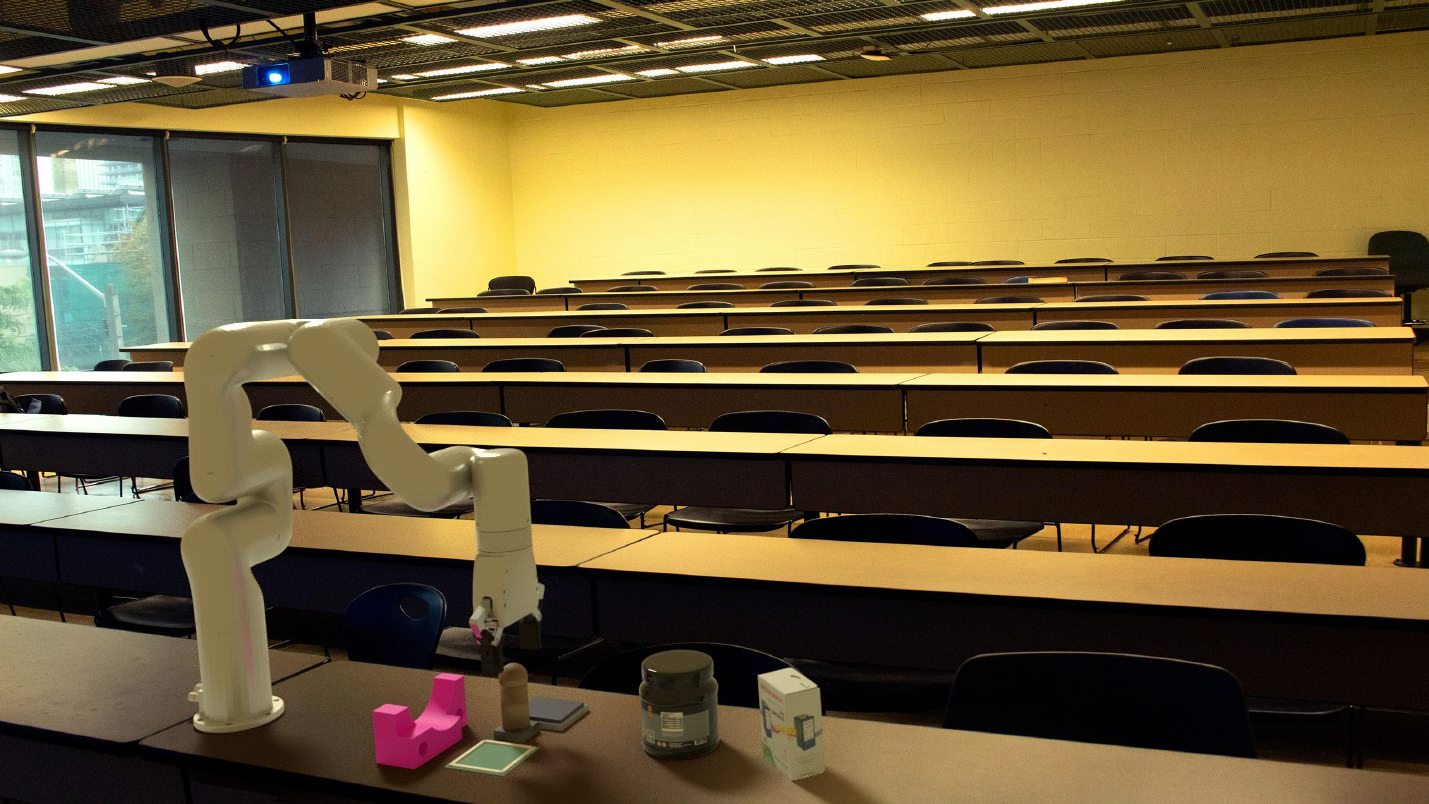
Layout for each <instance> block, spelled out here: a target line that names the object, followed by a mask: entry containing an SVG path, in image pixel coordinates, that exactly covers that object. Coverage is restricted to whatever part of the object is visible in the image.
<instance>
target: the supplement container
mask: <svg viewBox="0 0 1429 804" xmlns="http://www.w3.org/2000/svg"><path fill="white" fill-rule="evenodd" d="M713 675H714V660H713V658H712V657H711V656H710V655H709V654H707V653H704V652H702V651H697V650H691V649H673V650H666V651H661V652H657V653H653V654H651V655H649V656H647V657H646V658H645V659H644V660H643V661H642V663H641V676H642V677H641V678H642V681H641V683H640V685H639V687H638V692H639V693H638V694H639V697H640V713H641V715H640V716H641V735H642V736H641V745H642V746H643V749H644V750H645V751H646V752H647V753H648V754H649V755H650V756H652V757H654V758H657V759H662V760H667V761H686V760H692V759H697V758H700V757H703V756H706V755H708V754H709V753H712V752H713V751H714V750H715V749H717V747H718V746H719V743H720V731H719V730H720V729H719V708H718V707H719V706H718V690H719V684H718V682H717V679H715V678H714V677H713Z"/></svg>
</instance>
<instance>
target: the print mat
mask: <svg viewBox="0 0 1429 804" xmlns="http://www.w3.org/2000/svg"><path fill="white" fill-rule="evenodd" d="M540 749H541V747H540V746H534V745H526V744H522V743H514V742H506V741H498V740H491V739H482V740H481V741H479V742H478V743H475V745H473V746H472V747H471V748H469V749H468V750H466V751H465V752H464V753H461V755H459V756H458V757H456V758H455V759H453V760H452V761H450V762H449V763H448V764H446V765H445V766H444V768H445V769H449V770H450V769H451V770H458V771H464V772H472V773H479V774H486V775H493V776H500V777H504V776H506V775H507V774H508V773H510V772H511V771H512V770H514V769H515V768H516V767H518V766H519V765H520V764H522V763H523V762H524V761H525V760H527V759H528V758H529V757H530V756H532V755H533V754H534V753H536V752H537V751H539V750H540Z"/></svg>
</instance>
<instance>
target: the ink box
mask: <svg viewBox="0 0 1429 804" xmlns="http://www.w3.org/2000/svg"><path fill="white" fill-rule="evenodd" d="M757 682H758V684H757V685H758V698H759V701H758V702H759V710H760V711H759V715H760V726H761V729H760V730H761V740H762V754H763V758H764V757H765V758H764V759H765V760H766V759H767V760H768V761H770V762H771V763H770V762H769V763H770V764H771V765H772V764H773V765H774V766H776V767H777V768H778V769H780V770H781V771H782V772H783V773H784V774H786V775H787V776H789V778H790V779H796V778H801V777H804V776H807V775H808V776H809V775H814V774H819V773H821V772H824V771H825V772H826V761H825V748H824V747H825V746H824V734H823V733H824V731H823V715H822V702H821V701H822V700H821V691H820V687H818V685H817V684H816V683H814V681H812V680H810V679H809V678H807V676H804V675H803V674H801V673H800V672H799V671H798V670H796V669H795V668H793V667H787V668H782V669H778V670H774V671H770V672H766V673H762V674H758V675H757ZM767 760H766V761H767ZM768 761H767V762H768ZM773 765H772V766H773ZM774 766H773V767H774ZM776 767H775V768H776ZM777 768H776V769H777ZM778 769H777V770H778ZM783 773H782V774H783ZM784 774H783V775H784ZM789 778H788V779H789ZM790 779H789V780H790Z"/></svg>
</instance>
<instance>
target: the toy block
mask: <svg viewBox="0 0 1429 804" xmlns="http://www.w3.org/2000/svg"><path fill="white" fill-rule="evenodd" d="M465 685H466V684H465V675H462V674H453V673H446V672H442V673H440V674H438V675H435V676H434V677H433V686H432V692H431V694H430V698H429V701H428V703H427V705H426V707H425V709H424V710H423V711H422V713H421V715H420V716H419V717H417V719H416V720H414V719H413V717H412V715H411V712H410V709H409V708H410V707H409V706H404V705H397V704H391V703H385V704H383V705H382V706H380V707H378V708H376V709H374V710H372V719H373V721H372V722H373V731H374V743H375V744H374V745H375V756H376V764H381V765H386V766H392V767H398V768H404V769H411V770H416V769H417V768H419V767H420V766H422V765H423V764H425V763H427V762H428V761H431V760H432V759H433V758H434V757H437V756H438V755H439V754H440V753H443V752H444V751H445V750H447V749H448V748H450V747H452V746H453V745H455V744H456V743H458V742H460V741H461V740H462V739H463V734H462V733H463V731H462V728H463V727H465V726H468V717H467V699H466V687H465Z"/></svg>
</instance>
